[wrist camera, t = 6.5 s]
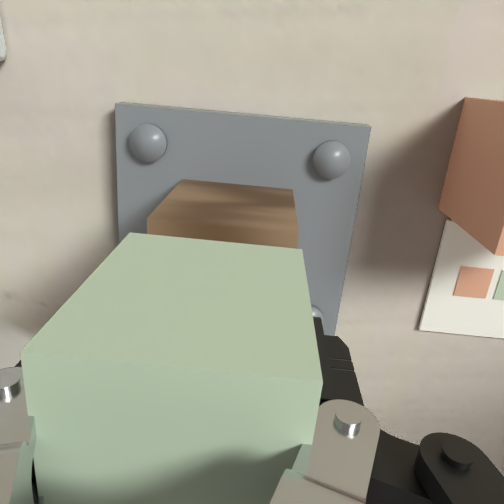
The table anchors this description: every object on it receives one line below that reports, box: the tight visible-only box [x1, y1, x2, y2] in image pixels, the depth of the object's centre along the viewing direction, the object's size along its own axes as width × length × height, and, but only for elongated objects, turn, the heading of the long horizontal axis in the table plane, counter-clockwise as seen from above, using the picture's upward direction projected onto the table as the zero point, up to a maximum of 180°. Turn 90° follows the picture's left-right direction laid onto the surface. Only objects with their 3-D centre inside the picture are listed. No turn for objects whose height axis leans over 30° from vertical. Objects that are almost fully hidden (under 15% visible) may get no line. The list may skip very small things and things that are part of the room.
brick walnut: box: [147, 179, 299, 249], centre depth 18 cm, size 5×5×6 cm
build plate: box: [115, 102, 371, 336], centre depth 21 cm, size 11×11×1 cm
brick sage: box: [20, 232, 323, 504], centre depth 11 cm, size 5×5×6 cm
